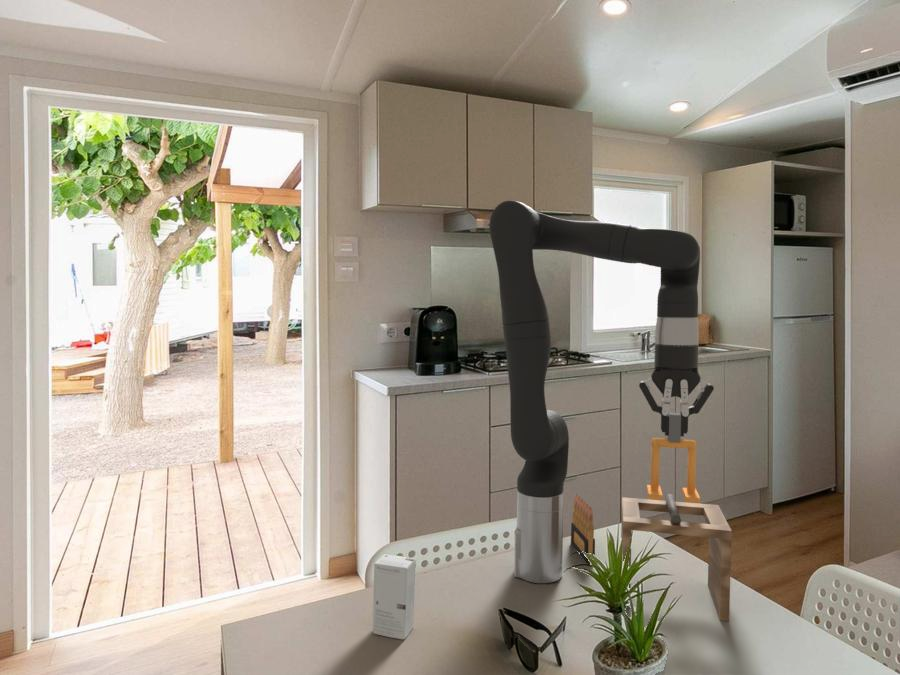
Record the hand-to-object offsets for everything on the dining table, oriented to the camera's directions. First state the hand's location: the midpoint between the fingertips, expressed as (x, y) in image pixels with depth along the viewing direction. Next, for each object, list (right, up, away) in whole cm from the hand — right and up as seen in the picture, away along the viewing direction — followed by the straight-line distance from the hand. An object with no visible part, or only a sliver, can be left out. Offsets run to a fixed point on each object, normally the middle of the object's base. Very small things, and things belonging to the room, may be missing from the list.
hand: (674, 434), depth 114 cm
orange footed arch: (0, -12, 0) cm, 12 cm away
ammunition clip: (-12, -30, +22) cm, 39 cm away
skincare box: (-51, -31, -11) cm, 61 cm away
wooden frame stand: (0, -31, +2) cm, 31 cm away
